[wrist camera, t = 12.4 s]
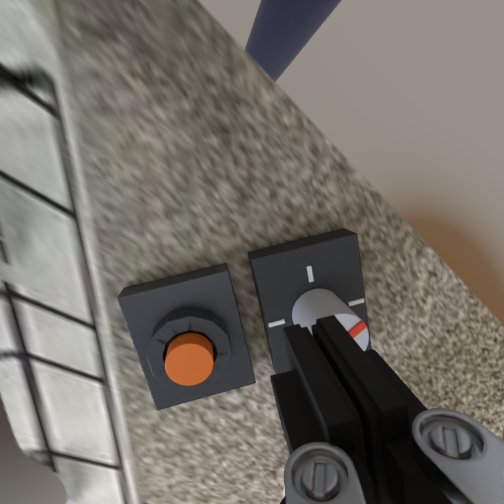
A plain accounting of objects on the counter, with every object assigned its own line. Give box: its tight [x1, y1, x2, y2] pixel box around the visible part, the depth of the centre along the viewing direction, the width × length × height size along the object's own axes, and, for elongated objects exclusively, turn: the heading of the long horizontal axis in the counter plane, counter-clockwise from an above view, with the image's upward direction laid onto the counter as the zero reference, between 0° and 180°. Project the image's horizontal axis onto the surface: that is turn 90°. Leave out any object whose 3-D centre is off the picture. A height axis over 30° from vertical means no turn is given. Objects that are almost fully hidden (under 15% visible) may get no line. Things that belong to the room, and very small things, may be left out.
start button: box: [165, 333, 214, 386], centre depth 25 cm, size 4×4×2 cm
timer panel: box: [248, 229, 372, 374], centre depth 29 cm, size 12×9×3 cm
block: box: [117, 263, 256, 410], centre depth 28 cm, size 11×9×4 cm
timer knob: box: [292, 289, 369, 351], centre depth 25 cm, size 4×4×5 cm
